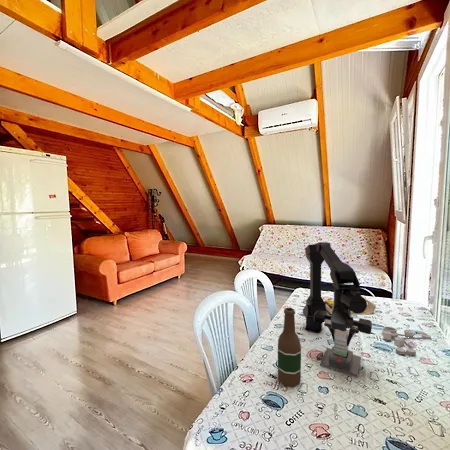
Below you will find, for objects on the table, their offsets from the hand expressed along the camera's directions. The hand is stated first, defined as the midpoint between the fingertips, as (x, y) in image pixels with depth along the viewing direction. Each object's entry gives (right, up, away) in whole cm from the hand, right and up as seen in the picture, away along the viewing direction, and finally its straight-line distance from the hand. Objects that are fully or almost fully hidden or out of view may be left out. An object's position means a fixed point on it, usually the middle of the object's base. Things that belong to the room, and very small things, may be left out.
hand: (341, 343), depth 95 cm
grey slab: (0, -4, 0) cm, 4 cm away
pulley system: (+33, -6, +16) cm, 37 cm away
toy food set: (+24, -4, +50) cm, 56 cm away
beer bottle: (-21, -8, -8) cm, 24 cm away
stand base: (0, -7, +1) cm, 7 cm away
